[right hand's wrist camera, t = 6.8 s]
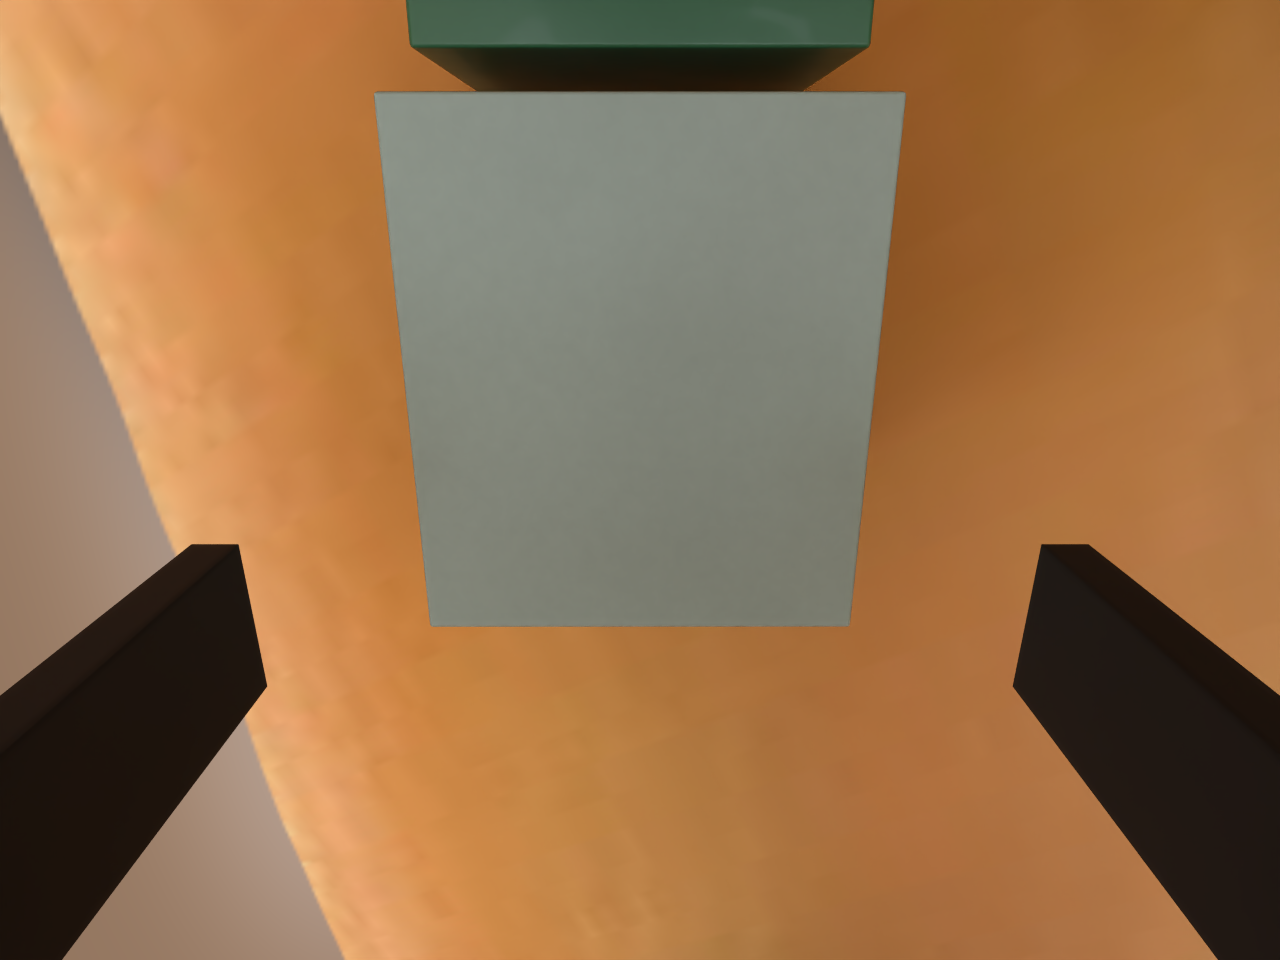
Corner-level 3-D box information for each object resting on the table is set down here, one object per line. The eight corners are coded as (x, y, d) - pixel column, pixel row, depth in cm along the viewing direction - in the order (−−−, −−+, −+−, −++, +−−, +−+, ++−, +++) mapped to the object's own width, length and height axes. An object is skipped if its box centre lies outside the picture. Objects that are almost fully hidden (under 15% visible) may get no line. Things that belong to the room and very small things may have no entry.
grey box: (474, 132, 27) (372, 90, 17) (805, 132, 27) (907, 91, 17) (498, 487, 31) (429, 628, 21) (781, 487, 31) (850, 627, 21)
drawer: (467, -171, 23) (370, -380, 15) (812, -171, 23) (909, -379, 15) (503, 409, 29) (449, 492, 21) (776, 408, 29) (830, 492, 21)
